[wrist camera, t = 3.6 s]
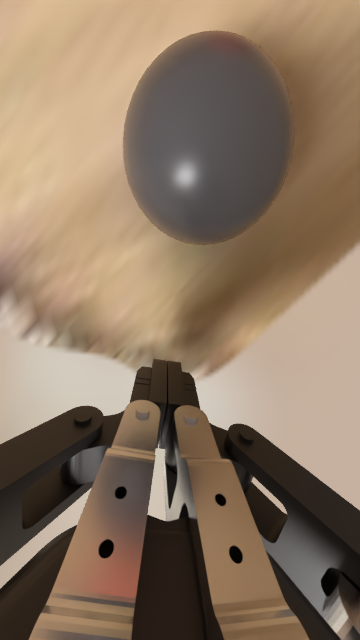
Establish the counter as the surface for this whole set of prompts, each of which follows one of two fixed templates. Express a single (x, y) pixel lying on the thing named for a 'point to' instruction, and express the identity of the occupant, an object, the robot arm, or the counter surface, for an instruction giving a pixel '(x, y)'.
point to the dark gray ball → (208, 137)
